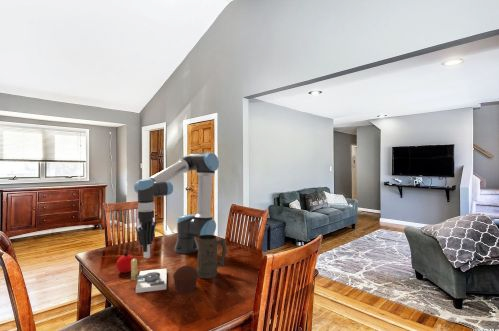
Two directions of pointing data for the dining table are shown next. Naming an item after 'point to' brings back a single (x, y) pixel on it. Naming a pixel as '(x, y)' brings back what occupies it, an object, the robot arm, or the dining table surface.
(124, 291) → the dining table surface
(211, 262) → the beer stein
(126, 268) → the ornament
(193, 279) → the muffin
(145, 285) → the stand
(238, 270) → the dining table surface
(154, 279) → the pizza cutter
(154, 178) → the robot arm
